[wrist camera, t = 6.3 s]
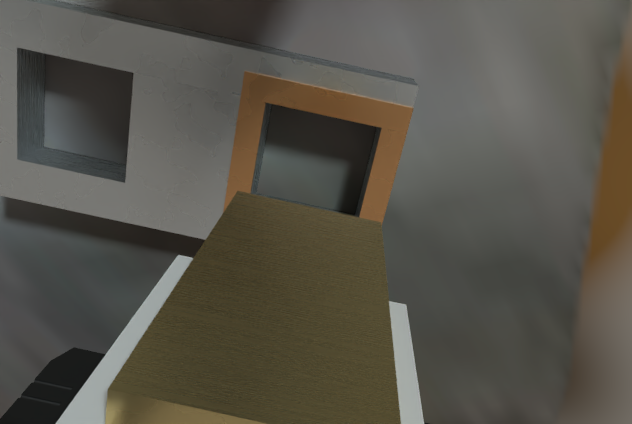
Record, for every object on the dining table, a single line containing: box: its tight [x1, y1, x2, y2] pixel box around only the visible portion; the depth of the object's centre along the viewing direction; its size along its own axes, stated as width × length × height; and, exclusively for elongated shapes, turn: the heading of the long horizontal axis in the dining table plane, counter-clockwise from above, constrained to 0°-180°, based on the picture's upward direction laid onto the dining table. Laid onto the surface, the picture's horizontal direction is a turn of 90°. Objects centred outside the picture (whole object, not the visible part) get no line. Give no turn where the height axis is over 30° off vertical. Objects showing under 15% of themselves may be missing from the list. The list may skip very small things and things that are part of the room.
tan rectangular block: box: [105, 191, 401, 424], centre depth 13 cm, size 4×4×9 cm
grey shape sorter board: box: [0, 0, 419, 240], centre depth 28 cm, size 20×10×3 cm, turn 78°
